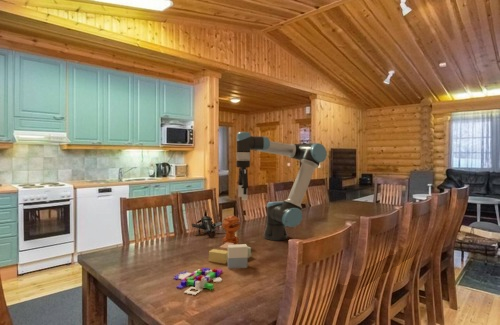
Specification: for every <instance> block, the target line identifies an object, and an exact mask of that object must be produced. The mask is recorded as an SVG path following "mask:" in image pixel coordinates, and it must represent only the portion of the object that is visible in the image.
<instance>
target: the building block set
mask: <svg viewBox="0 0 500 325" xmlns="http://www.w3.org/2000/svg"><path fill="white" fill-rule="evenodd" d="M222 273H223V269H221V268H220V269H218V268H213V269H211V268H208V267H202V268H199V269H197V270H195V271H193V272H189V271H187V270H186V271H181V272H179V274H175V275H173V276H174V277H175V278H174V277H173V280H174V279H176V280H175V281H178V280H179V279H181V280H180V284H178V285H177V286H176V289H178V288H180V289H179V290H182V289H184V288H186V286H188V285H191V286H190V287H189V288H187V289H186V290H184V291H183V294H184V293H187V294H186V295H188V294H192V295H191V296H193V295H196V294H197V293H199V292H200V291H201V292H203V288H205V289H207V290H208V289H210V290H209V291H212V290H213V289H214V284H213V283H214V282H216V283H221V282H223V279H222V278H221V277H220V275H221V274H222ZM218 276H219V277H218ZM216 277H217V278H216ZM177 279H178V280H177ZM212 280H213V281H212ZM211 281H212V282H213V283H210V282H211ZM194 286H195V287H194ZM183 287H184V288H183ZM181 288H182V289H181ZM191 289H195V290H191ZM211 289H212V290H211ZM190 290H191V291H190ZM196 290H198V291H196ZM201 292H200V293H201ZM200 293H199V294H200ZM197 295H198V294H197ZM197 295H196V296H197Z"/></svg>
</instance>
